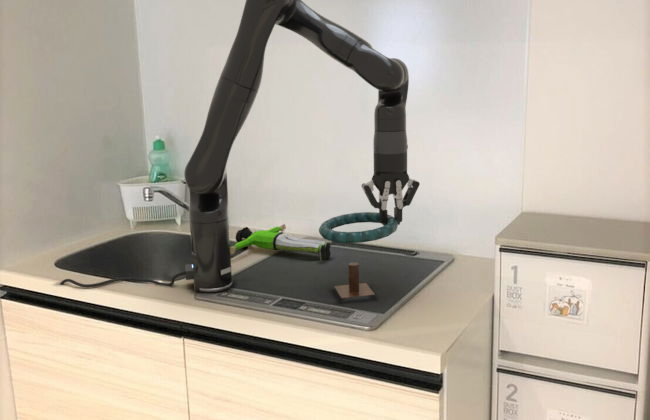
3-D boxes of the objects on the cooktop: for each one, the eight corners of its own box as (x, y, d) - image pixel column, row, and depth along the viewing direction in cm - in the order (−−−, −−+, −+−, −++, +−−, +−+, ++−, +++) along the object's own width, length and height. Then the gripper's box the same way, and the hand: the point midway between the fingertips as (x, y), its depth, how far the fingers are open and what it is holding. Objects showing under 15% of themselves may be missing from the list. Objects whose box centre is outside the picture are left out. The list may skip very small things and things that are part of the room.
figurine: (351, 248, 198) (266, 234, 213) (351, 227, 197) (266, 215, 212) (298, 277, 175) (207, 260, 190) (297, 254, 173) (205, 238, 188)
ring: (329, 249, 146) (328, 238, 146) (313, 228, 163) (312, 218, 163) (408, 236, 149) (408, 225, 149) (384, 216, 166) (384, 207, 166)
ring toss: (341, 302, 157) (340, 270, 155) (333, 290, 164) (333, 260, 162) (375, 299, 158) (375, 267, 156) (366, 287, 166) (365, 257, 164)
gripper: (414, 145, 158) (414, 218, 162) (356, 149, 156) (357, 223, 160) (425, 150, 151) (425, 226, 155) (364, 154, 148) (365, 231, 153)
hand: (390, 224), depth 158 cm, fingers closed on ring, 2 cm apart
